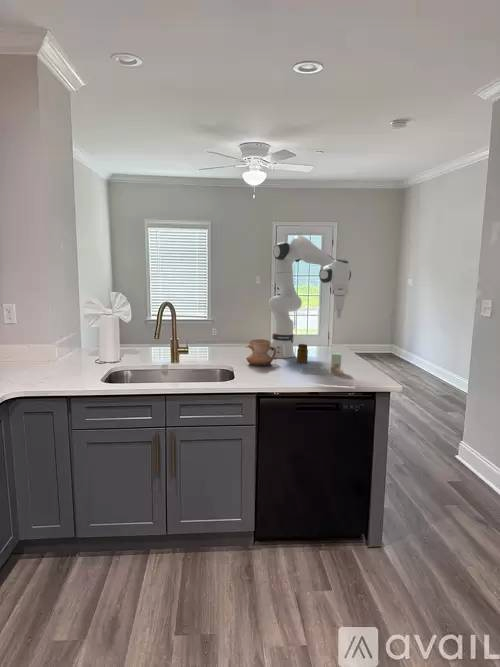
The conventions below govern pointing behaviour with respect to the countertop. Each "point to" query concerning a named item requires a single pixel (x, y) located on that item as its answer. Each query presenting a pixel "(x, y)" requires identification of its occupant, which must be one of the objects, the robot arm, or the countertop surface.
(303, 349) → the condiment
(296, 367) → the countertop surface
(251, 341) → the ceramic jug
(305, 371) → the grey flat slab
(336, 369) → the maple block
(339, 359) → the sage block
